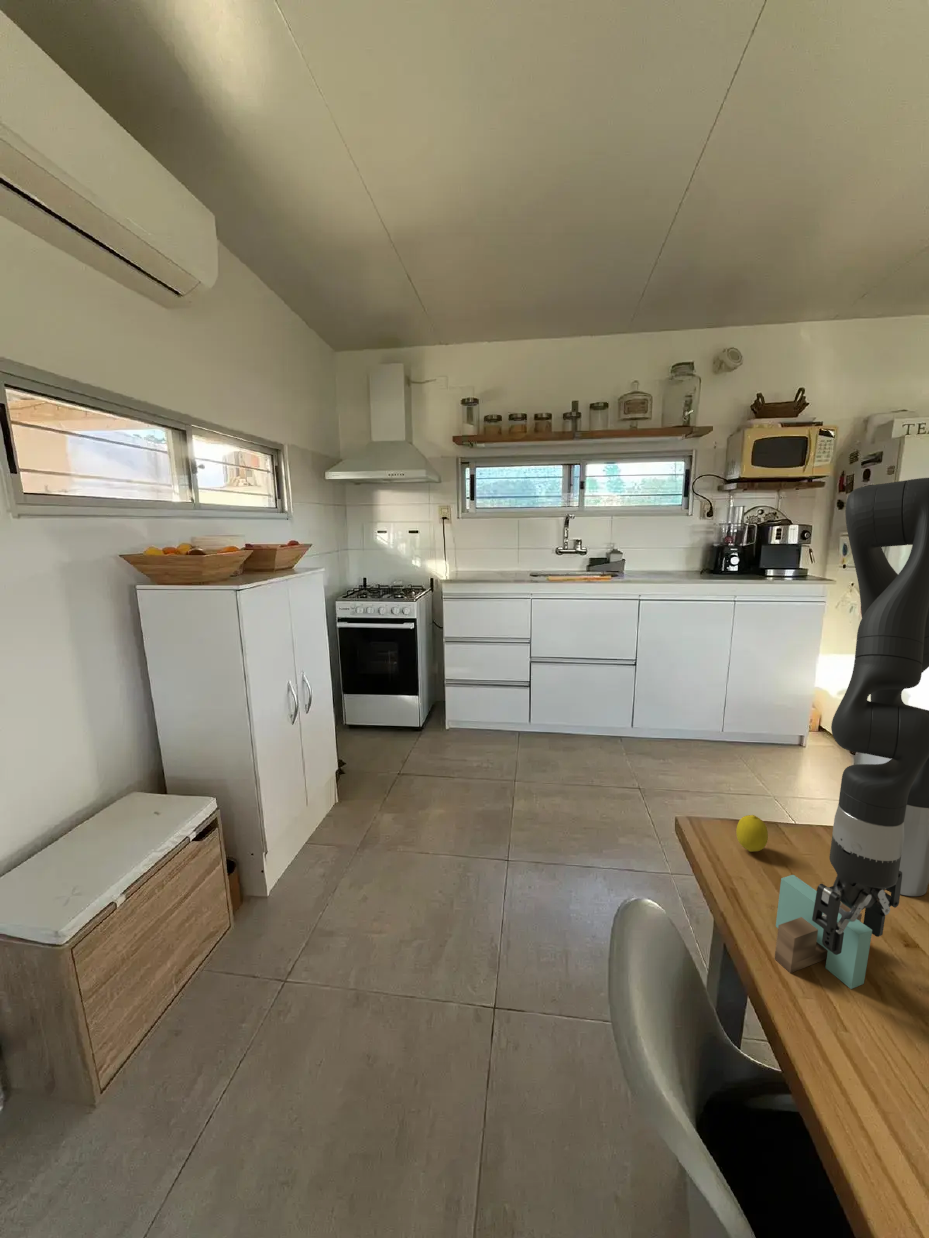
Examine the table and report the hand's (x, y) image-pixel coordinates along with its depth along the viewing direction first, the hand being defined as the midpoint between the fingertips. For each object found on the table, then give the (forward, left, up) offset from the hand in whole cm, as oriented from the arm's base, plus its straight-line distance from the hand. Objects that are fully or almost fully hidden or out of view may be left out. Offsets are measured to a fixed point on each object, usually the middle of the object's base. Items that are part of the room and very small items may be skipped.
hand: (852, 940), depth 72 cm
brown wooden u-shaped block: (0, -4, -6) cm, 7 cm away
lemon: (-11, -26, -6) cm, 29 cm away
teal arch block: (0, -4, -6) cm, 7 cm away
